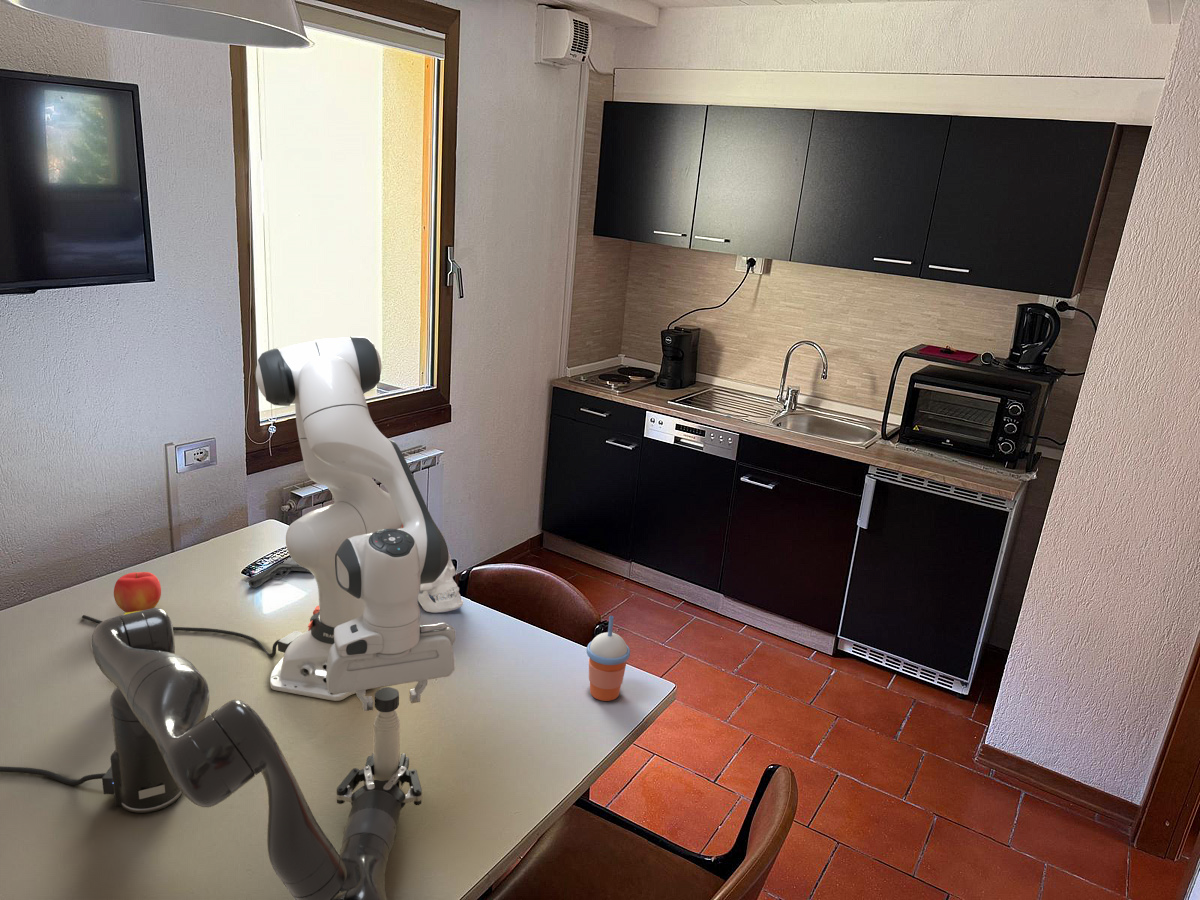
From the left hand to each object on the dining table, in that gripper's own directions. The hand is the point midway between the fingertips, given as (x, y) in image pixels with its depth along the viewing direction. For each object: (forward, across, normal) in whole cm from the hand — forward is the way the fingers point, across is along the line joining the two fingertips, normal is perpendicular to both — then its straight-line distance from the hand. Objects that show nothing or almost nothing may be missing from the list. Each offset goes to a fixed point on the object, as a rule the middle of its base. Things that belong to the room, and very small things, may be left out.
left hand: (389, 757), depth 146 cm
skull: (+69, +2, +6) cm, 69 cm away
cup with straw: (+30, -40, +6) cm, 50 cm away
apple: (+57, +66, +6) cm, 87 cm away
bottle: (-3, 0, +6) cm, 7 cm away
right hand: (-2, -1, -12) cm, 12 cm away
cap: (-3, 0, -14) cm, 14 cm away
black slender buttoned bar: (+80, +39, +6) cm, 89 cm away
